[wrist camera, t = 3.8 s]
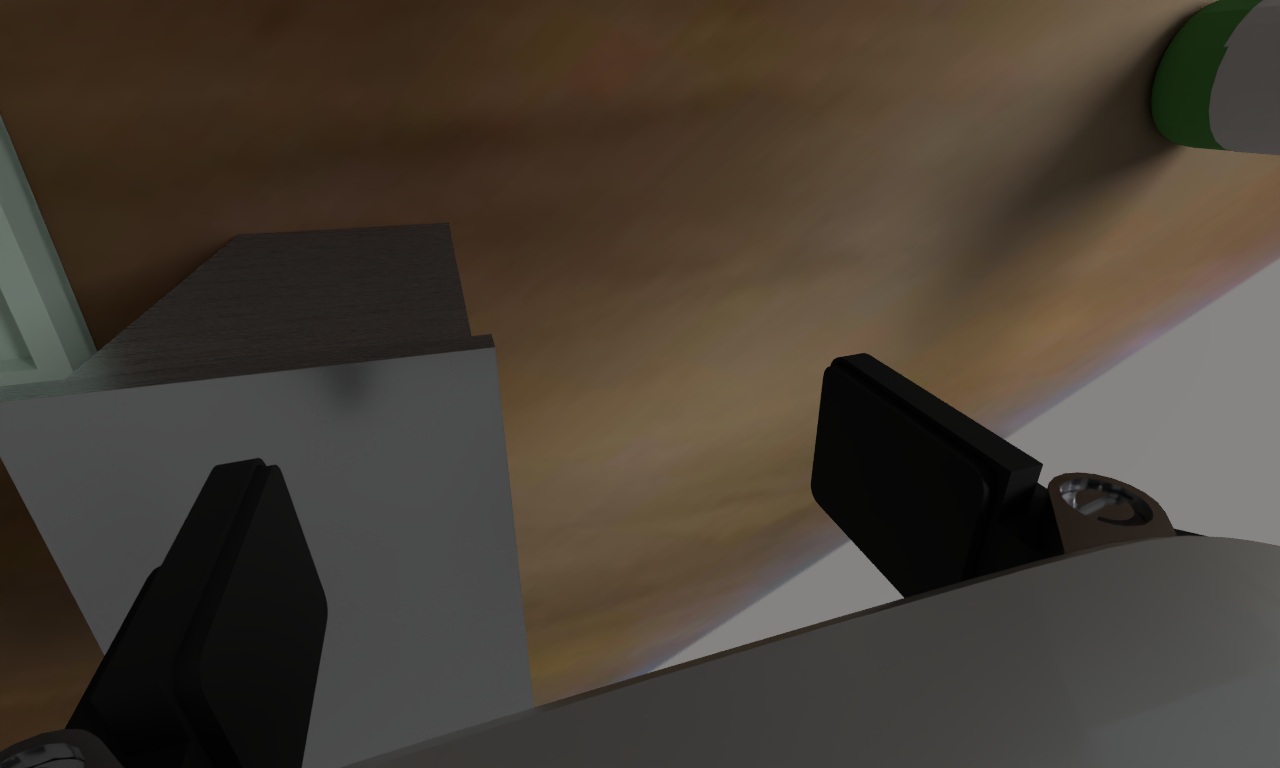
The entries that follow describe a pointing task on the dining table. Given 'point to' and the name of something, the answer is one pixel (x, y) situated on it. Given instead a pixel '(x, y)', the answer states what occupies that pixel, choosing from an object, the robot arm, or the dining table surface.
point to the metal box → (306, 467)
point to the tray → (33, 288)
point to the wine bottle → (1223, 79)
